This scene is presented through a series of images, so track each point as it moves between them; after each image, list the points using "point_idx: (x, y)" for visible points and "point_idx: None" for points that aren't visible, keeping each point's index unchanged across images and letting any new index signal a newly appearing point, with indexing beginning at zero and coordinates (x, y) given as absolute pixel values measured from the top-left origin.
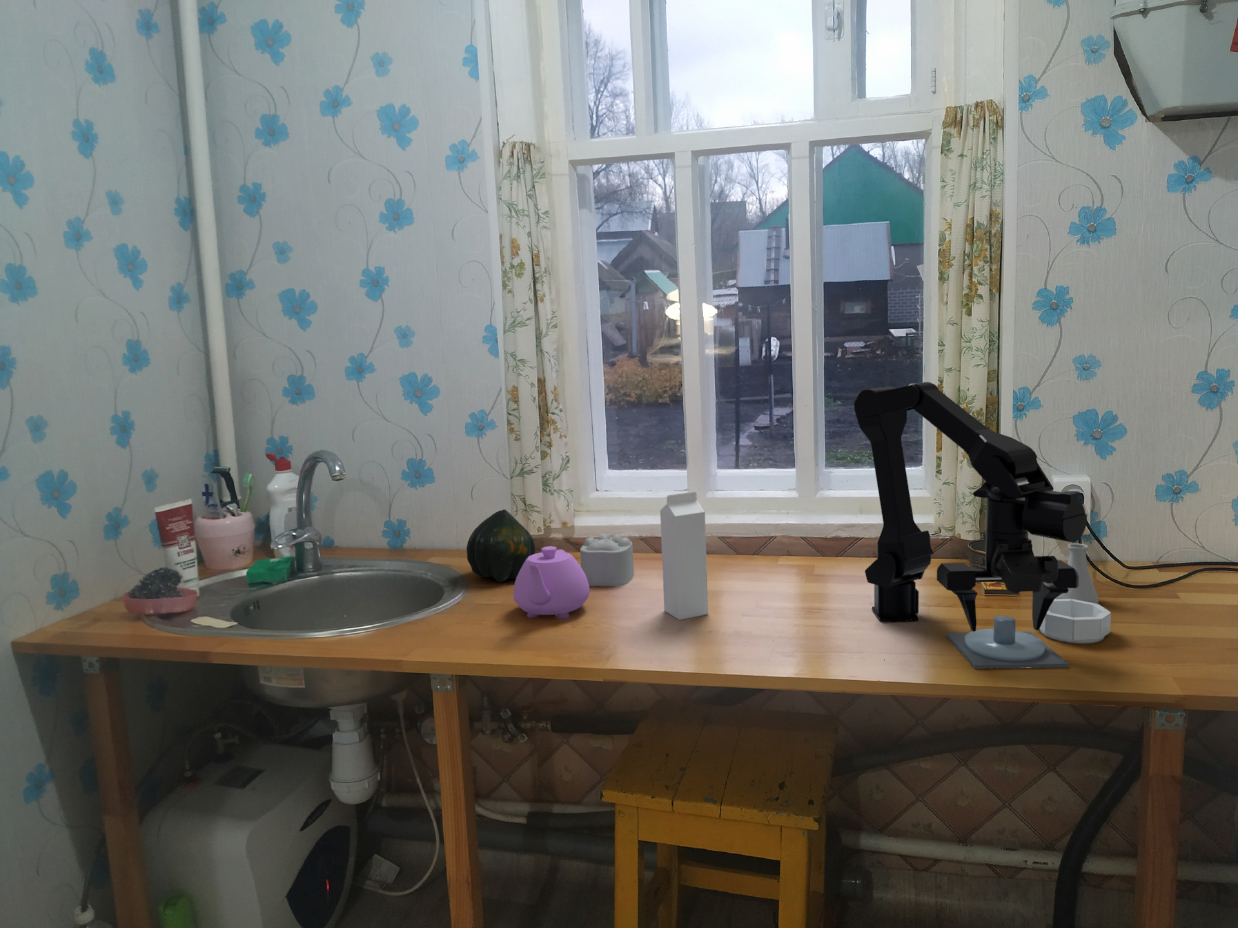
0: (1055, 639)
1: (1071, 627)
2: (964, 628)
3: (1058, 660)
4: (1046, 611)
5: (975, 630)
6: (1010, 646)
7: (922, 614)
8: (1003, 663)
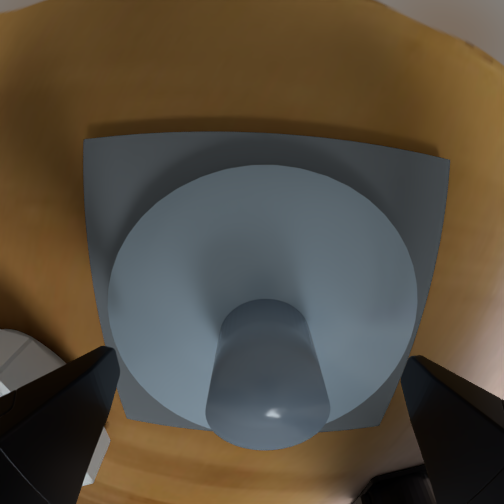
0: None
1: (14, 363)
2: (294, 458)
3: (104, 170)
4: (22, 388)
5: (414, 356)
6: (265, 279)
7: (339, 497)
8: (347, 154)
